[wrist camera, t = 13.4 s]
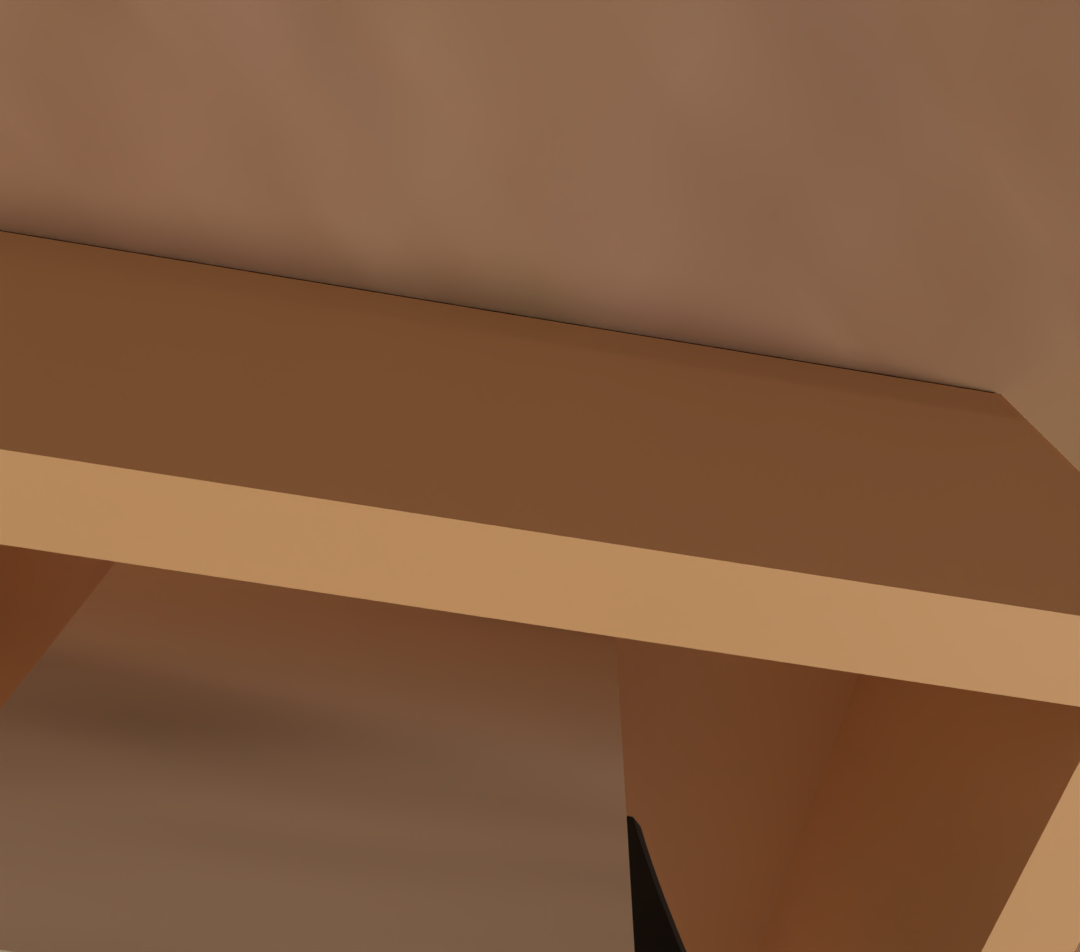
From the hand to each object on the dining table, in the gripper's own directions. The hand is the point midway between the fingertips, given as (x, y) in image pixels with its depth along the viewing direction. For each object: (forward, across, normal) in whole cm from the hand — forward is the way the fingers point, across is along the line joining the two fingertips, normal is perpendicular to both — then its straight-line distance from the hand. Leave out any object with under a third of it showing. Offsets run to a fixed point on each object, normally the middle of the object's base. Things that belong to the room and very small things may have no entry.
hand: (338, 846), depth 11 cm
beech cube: (+2, 0, 0) cm, 2 cm away
